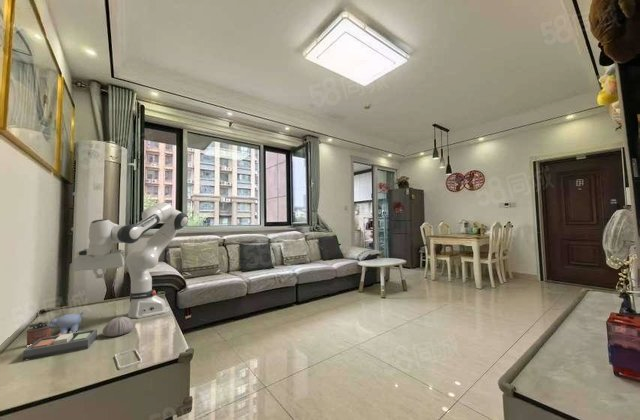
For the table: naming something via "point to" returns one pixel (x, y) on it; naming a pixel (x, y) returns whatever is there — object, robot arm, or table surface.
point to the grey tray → (60, 346)
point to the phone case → (128, 364)
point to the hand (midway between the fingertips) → (99, 277)
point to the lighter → (38, 332)
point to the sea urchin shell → (118, 326)
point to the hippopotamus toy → (67, 323)
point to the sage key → (81, 336)
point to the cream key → (63, 338)
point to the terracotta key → (44, 343)
